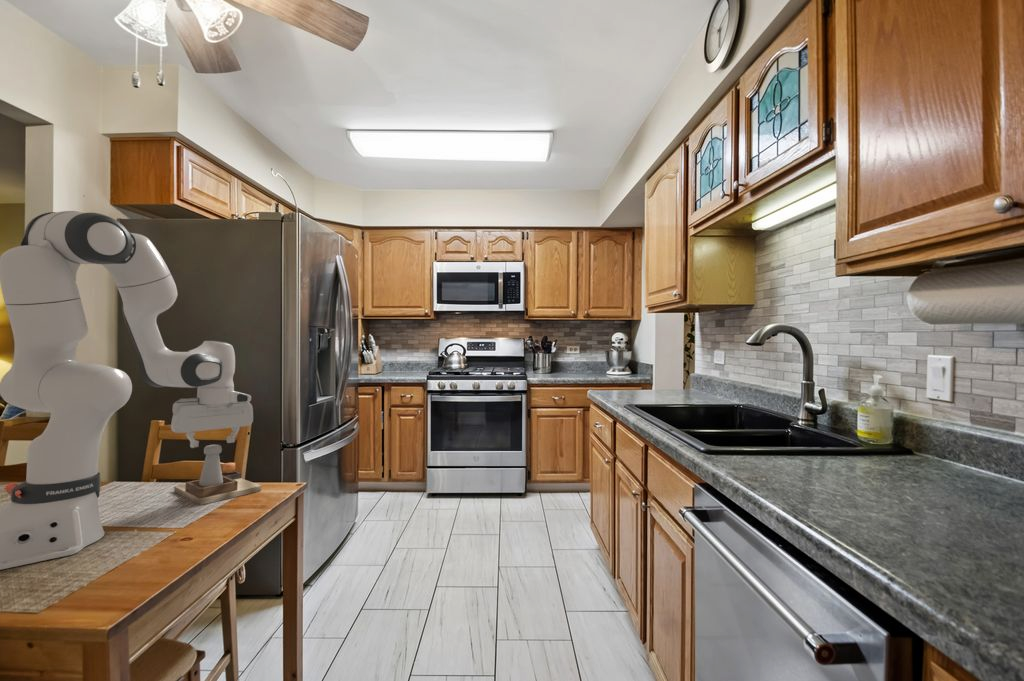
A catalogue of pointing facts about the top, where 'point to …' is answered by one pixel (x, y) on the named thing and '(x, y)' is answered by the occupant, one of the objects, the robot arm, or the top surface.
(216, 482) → the salt shaker
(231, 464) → the button
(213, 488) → the pallet board
